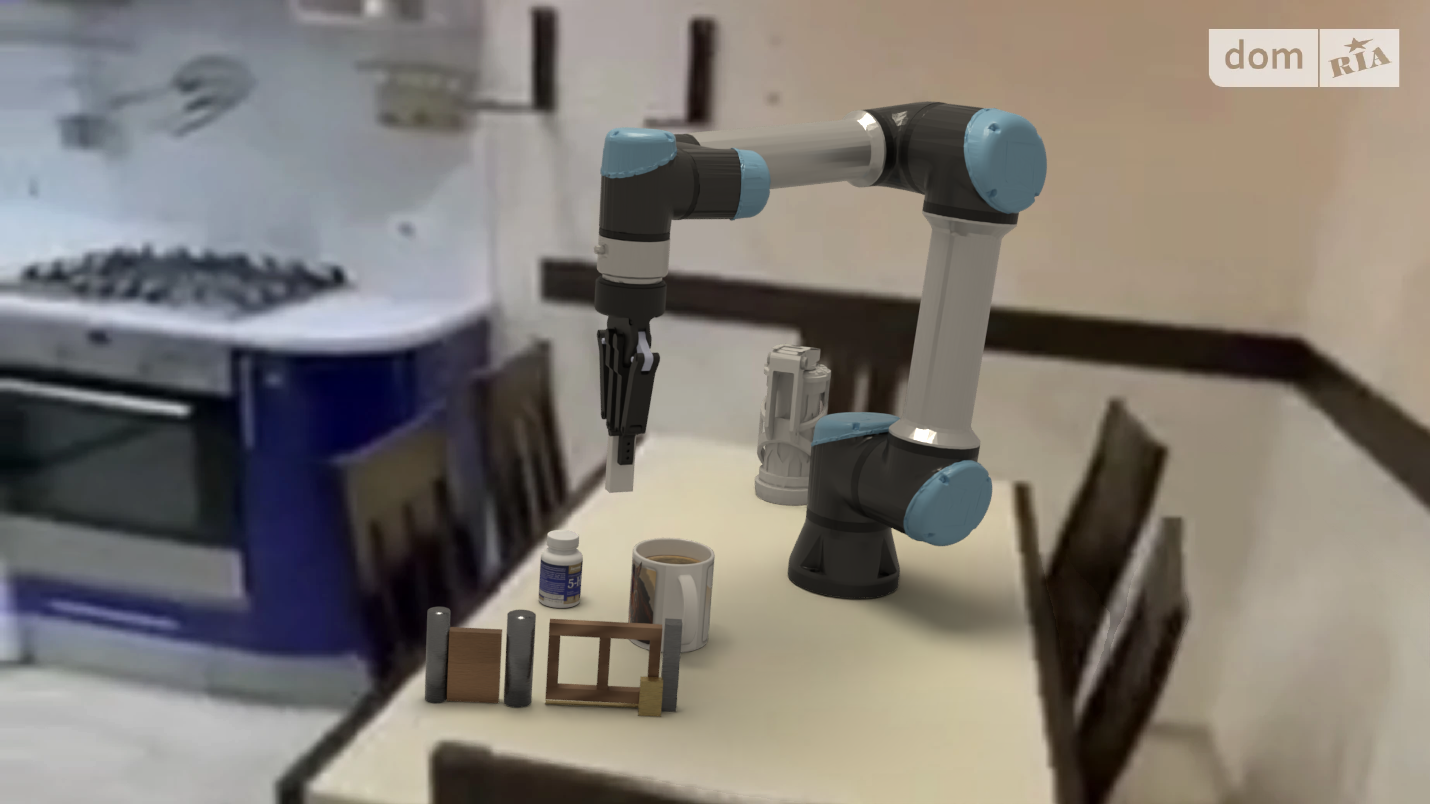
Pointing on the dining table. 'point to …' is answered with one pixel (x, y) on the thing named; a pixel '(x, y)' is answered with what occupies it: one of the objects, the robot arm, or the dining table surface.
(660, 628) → the gate
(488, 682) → the fence
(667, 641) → the block
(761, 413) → the lantern
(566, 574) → the pill bottle
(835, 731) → the dining table surface
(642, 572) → the mug
